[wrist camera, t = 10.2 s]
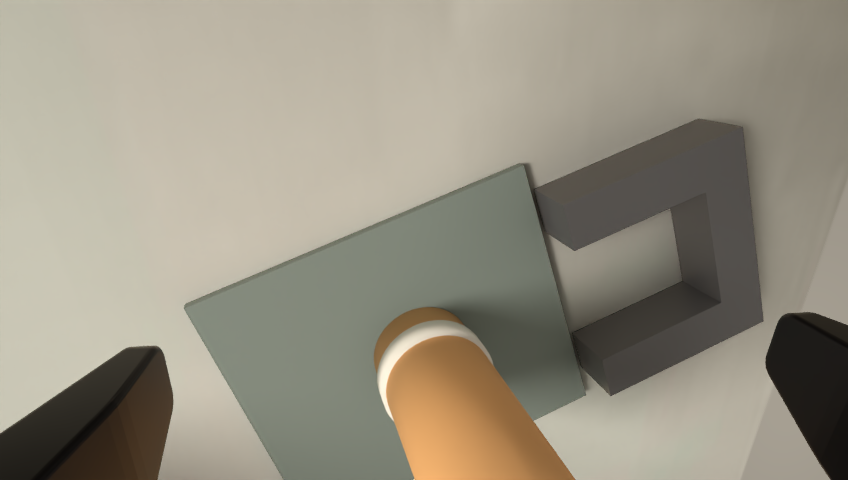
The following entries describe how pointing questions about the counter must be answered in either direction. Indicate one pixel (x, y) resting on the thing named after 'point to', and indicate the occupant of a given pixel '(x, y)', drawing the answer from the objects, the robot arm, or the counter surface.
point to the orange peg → (456, 404)
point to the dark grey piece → (695, 236)
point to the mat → (371, 313)
